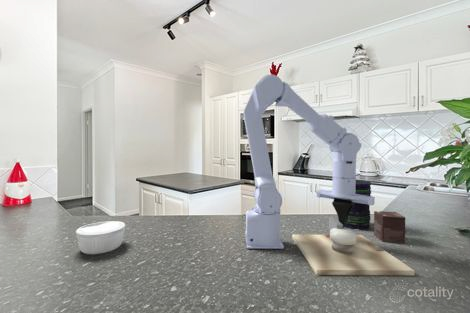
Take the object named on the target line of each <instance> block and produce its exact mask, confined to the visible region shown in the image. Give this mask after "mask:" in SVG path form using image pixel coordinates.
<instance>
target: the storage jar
mask: <svg viewBox="0 0 470 313" xmlns="http://www.w3.org/2000/svg"><path fill="white" fill-rule="evenodd" d="M371 185H372V183H371V181H365V180H358V179H356V186H355V194H360V195H366V196H371V194H372V189H371V188H372V187H371ZM370 206H371V205H368V204H362V203H356V202H355V204H354V206H353V208H352V210H351V211H350V214H349V216H348V219H347V222H346V227H344V229H349V228H350V229H349V230H354V229H359V230H358V231H366V230H365V229H367V230H369V229H370V228H371V225H370V224H371V210H370ZM337 218H338V217H337ZM337 220H339V218H338V219H337Z"/></svg>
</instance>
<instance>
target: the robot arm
mask: <svg viewBox="0 0 470 313" xmlns="http://www.w3.org/2000/svg"><path fill="white" fill-rule="evenodd" d="M249 96H250V97H249V98H248V101H247V103H246V105H245V107H244V110H243V120H244V125H245V132H246V137H247V141H248V148H249V154H250V158H251V162H252V163H251V164H252V168H253V169H252V170H253V176H254V185H255V188H254V191H253V199H254V201H255V202H256V204H255V206H254V207H253V209H252V210H250V209H249V210H246V211H245V230H244V238H245V242H246V243H245V244H246V248H247V249H265V250H267V249H269V250H270V249H271V250H273V249H276V250H277V249H281V250H283V249H285V245H284V244H283V242H282V240H281V208H282V205H283V196H282V195H281V193H280V192H279V191H278V188H277V185H276V180H275V178H274V176H273V171H272V165H271V161H270V155H269V154H270V153H269V149H268V145H267V144H268V143H267V138H266V132H265V126H264V121H263V117H262V116H263V114H265V112H266V111H267V109H268V108H269V107H271V106H272V105H273V104H274V103H275V105H274V106H275V107H284V108H285V107H287V108H288V109H289V110H291V111H292V113H295V114H296V115H298V116H299V117H300V118H302V119H303V120H305V121H306V122H307V123H308V124H309V127H310V131H311V132H312V133H314V134H315V135H316V136H317V137H318V138H319V139H321V141H323V142H325V144H327V146H328V148H329V151H330V152H332V180H331V181H332V183H331V184H332V186H331V187H332V190H325V189H323V190H322V189H318V190H316V198H319V199H320V198H323V199H331V200H333V201H332V202H331V204H332V207H333V209H334V210H335V213H336V215H337V218H339V219H338V221H339V222H340V223H341V224H342V225H343V229H345V227H346V222H347V219H348V216H349V214H350V211H351V210H352V208H353V206H354V204H355V202H356V203H362V204H368V205H370V206H374V205H375V196H366V195H360V194H355V186H356V180H357V179H356V177H357V174H356V173H357V156H358V153H359V152H360V150H361V148H362V143H360V140H359V138H358V136H357V135H356V134H354V133H352V132H347V128H346V127H345V126H344V127H342V126H341V125H339V123H337V122H336V121H335V120H334V119H335V118H334V116H332V115H331V114H329V115H328V114H327V113H324V114H322V113H321V114H319V113H318V112H317V111H316V110H315V109H314V108H313V107H312V106H310V105H309V104H308V102H306V101H305V100H304V99H303V98H302V97H301V96H300V95H298V93H296V92H295V91H294V89H292V87H291V86H290V84H288V83H287V82H285V81H283V80H282V79H281V78H280V77H279V76H278V75H275V74H266V75H265V76H263V77H262V78H260V80H259V81H258V82H257V83H256V84H255V85H254V88H253V89H252V91H251V94H250V95H249Z"/></svg>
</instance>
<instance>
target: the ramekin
mask: <svg viewBox="0 0 470 313" xmlns="http://www.w3.org/2000/svg"><path fill="white" fill-rule="evenodd" d="M125 230H126V223H125V222H123V221H115V220H113V221H112V220H109V221H98V222H93V223H89V224H85V225H83V226H80V227H79V228H77V229H76V230H75V236H76V238H77V243H78V248H79V251H80V252H81V253H83V254H86V255H100V254H106V253H109V252H113V251H114V250H116V249H118V248H119V247H120V246H121V245H122V244H123V240H124V236H125Z"/></svg>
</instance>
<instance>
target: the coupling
mask: <svg viewBox="0 0 470 313" xmlns="http://www.w3.org/2000/svg"><path fill="white" fill-rule="evenodd" d="M328 228H329V229H330V230H329V235H330V240H331V241H333V242H335V243H338V244H343V245H354V244H356V243H357V235H358V233H357V232H356V231H354V230H353V229H349V228H343V225H342V224H341V223H340V222H339V219H337V218H336V217H335V216H333V217H332V216H329V218H328Z"/></svg>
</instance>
